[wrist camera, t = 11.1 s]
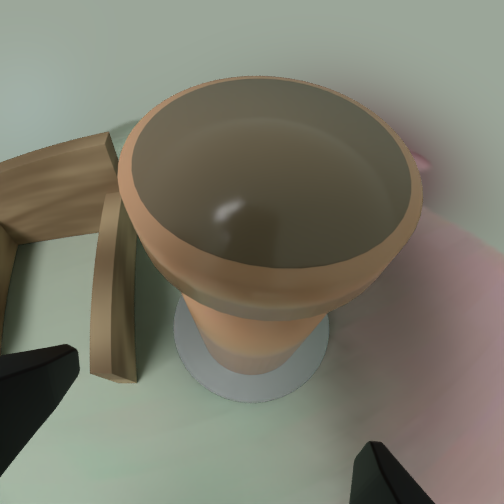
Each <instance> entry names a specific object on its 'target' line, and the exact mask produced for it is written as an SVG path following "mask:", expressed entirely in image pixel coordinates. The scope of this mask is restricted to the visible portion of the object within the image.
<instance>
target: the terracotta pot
mask: <svg viewBox="0 0 504 504" xmlns="http://www.w3.org/2000/svg"><path fill="white" fill-rule="evenodd" d="M117 178H118V185H119V192H120V195H121V197H122V200H123V203H124V206H125V208H126V211H127V213H128V215H129V217H130V219H131V222H132V224H133V226H134V228H135V230H136V232H137V235H138V237H139V239H140V241H141V243H142V245H143V247H144V249H145V251H146V253H147V255H148V256H149V258H150V260H151V261H152V263H153V264H154V266H155V267H156V268H157V270H158V271H159V272H160V273H161V274H162V275H163V276H164V277H165V279H166V280H167V281H169V282H170V283H171V284H172V285H173V286H175V287H176V288H177V289H178V290H179V291H181V293H182V295H183V298H184V300H185V302H186V304H187V307H188V309H189V311H190V313H191V316H192V318H193V320H194V322H195V325H196V327H197V329H198V331H199V333H200V335H201V338H202V340H203V342H204V344H205V346H206V348H207V350H208V352H209V353H210V354H211V356H212V357H213V358H214V359H215V360H216V361H217V362H218V363H219V364H220V365H222V366H223V367H225V368H226V369H228V370H230V371H233V372H235V373H239V374H244V375H259V374H264V373H268V372H270V371H273V370H275V369H277V368H278V367H280V366H281V365H283V364H284V363H285V362H286V361H287V360H288V359H289V358H290V357H291V356H292V355H293V354H294V352H295V351H296V350H297V349H298V348H299V347H300V346H301V344H302V343H303V342H304V341H305V340H306V339H307V337H308V336H309V335H310V334H311V333H312V331H313V330H314V329H315V328H316V327H317V325H318V324H319V323H320V322H321V321H322V319H323V318H324V317H325V316H326V314H327V313H328V312H330V311H332V310H334V309H336V308H339V307H341V306H343V305H345V304H347V303H349V302H350V301H351V300H353V299H354V298H356V297H357V296H359V295H360V294H362V293H363V292H364V291H365V290H366V289H367V288H368V287H369V286H370V285H371V284H372V283H373V282H374V281H375V280H376V279H377V278H378V277H379V275H380V274H381V273H382V272H383V271H384V270H385V268H386V267H387V266H388V265H389V264H390V263H391V261H392V260H393V259H394V258H395V256H396V255H397V254H398V253H399V252H400V250H401V249H402V248H403V247H404V245H405V244H406V243H407V241H408V240H409V238H410V237H411V235H412V234H413V232H414V230H415V229H416V226H417V223H418V221H419V218H420V215H421V210H422V204H423V189H422V183H421V178H420V174H419V171H418V168H417V165H416V163H415V161H414V159H413V157H412V155H411V153H410V151H409V149H408V148H407V147H406V145H405V144H404V143H403V141H402V139H401V138H400V137H399V136H398V135H397V134H396V132H395V131H394V130H393V129H392V128H391V127H390V126H389V125H388V124H387V123H386V122H384V121H383V120H382V119H381V118H380V117H379V116H377V115H376V114H375V113H373V112H372V111H370V110H369V109H368V108H366V107H364V106H363V105H361V104H360V103H358V102H356V101H355V100H353V99H351V98H349V97H347V96H345V95H343V94H340V93H338V92H336V91H334V90H331V89H328V88H325V87H322V86H320V85H316V84H313V83H309V82H305V81H300V80H295V79H290V78H282V77H272V76H242V77H231V78H226V79H219V80H215V81H210V82H207V83H203V84H200V85H197V86H194V87H191V88H188V89H186V90H184V91H181V92H179V93H177V94H175V95H173V96H171V97H170V98H168V99H166V100H164V101H163V102H161V103H160V104H159V105H157V106H156V107H154V108H153V109H152V110H151V111H149V112H148V113H147V114H146V115H145V116H144V117H143V118H142V119H141V120H140V121H139V122H138V123H137V125H136V126H135V127H134V128H133V130H132V131H131V133H130V134H129V136H128V137H127V139H126V142H125V144H124V146H123V148H122V151H121V154H120V158H119V162H118V175H117Z"/></svg>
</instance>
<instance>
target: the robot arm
mask: <svg viewBox="0 0 504 504" xmlns="http://www.w3.org/2000/svg"><path fill="white" fill-rule="evenodd" d="M79 371H80V366H79V356H78V351H77V349H75V348H74V347H72V346H70V345H68V344H63V345H58V346H53V347H47V348H42V349H36V350H30V351H25V352H19V353H12V354H6V355H0V477H1V476H2V474H3V473H4V472H5V470H6V469H7V468H8V466H9V465H10V464H11V463H12V461H13V460H14V459H15V458H16V456H17V455H18V454H19V453H20V451H21V450H22V449H23V448H24V446H25V445H26V444H27V443H28V441H29V440H30V439H31V438H32V436H33V435H34V434H35V433H36V432H37V430H38V429H39V428H40V427H41V426H42V424H43V423H44V422H45V421H46V420H47V418H48V417H49V416H50V415H51V414H52V412H53V411H54V410H55V409H56V407H57V406H58V405H59V403H60V402H61V400H62V399H63V397H64V396H65V394H66V393H67V391H68V390H69V388H70V387H71V385H72V384H73V382H74V381H75V379H76V378H77V376H78V374H79ZM349 504H435V503H434V502H433V501H432V500H431V498H430V497H429V496H428V495H427V494H426V493H425V492H424V491H423V489H422V488H421V487H420V486H419V485H418V484H417V483H416V481H415V480H414V479H413V478H412V477H411V476H410V474H409V473H408V472H407V471H406V470H405V469H404V467H403V466H402V465H401V464H400V463H399V462H398V460H397V459H396V458H395V457H394V456H393V455H392V453H391V452H390V451H389V450H388V449H387V448H386V446H385V445H384V444H383V443H382V442H377V441H369V442H367V443H366V445H365V446H364V447H363V449H362V450H361V451H360V452H359V454H358V455H357V456H356V458H355V460H354V466H353V476H352V485H351V493H350V502H349Z"/></svg>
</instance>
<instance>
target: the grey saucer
mask: <svg viewBox="0 0 504 504" xmlns="http://www.w3.org/2000/svg"><path fill="white" fill-rule="evenodd" d="M173 331H174V340H175V344H176V348H177V351H178V354H179V356H180V358H181V360H182V362H183V364H184V366H185V367H186V369H187V370H188V371H189V373H190V374H191V375H192V376H193V377H194V378H195V379H196V380H197V381H198V382H199V383H200V384H201V385H203V386H204V387H205V388H207V389H208V390H209V391H211V392H213V393H215V394H216V395H218V396H220V397H223V398H226V399H228V400H232V401H237V402H244V403H260V402H266V401H271V400H274V399H277V398H280V397H283V396H285V395H287V394H289V393H291V392H293V391H295V390H296V389H298V388H299V387H300V386H302V385H303V384H304V383H305V382H306V381H307V380H308V379H309V378H310V377H311V376H312V375H313V374H314V372H315V371H316V370H317V368H318V367H319V365H320V363H321V361H322V359H323V357H324V355H325V352H326V348H327V345H328V339H329V321H328V314H326V316H325V317H324V318H323V319H322V321H321V322H320V323H319V324H318V325H317V327H316V328H315V329H314V330H313V331H312V333H311V334H310V335H309V336H308V337H307V339H306V340H305V341H304V342H303V343H302V344H301V346H300V347H299V348H298V349H297V350H296V351H295V352H294V354H293V355H292V356H291V357H290V358H289V359H288V360H287V361H286V362H285V363H284V364H283V365H281V366H280V367H278V368H277V369H275V370H273V371H270V372H268V373H264V374H259V375H244V374H239V373H235V372H233V371H230V370H228V369H226V368H225V367H223V366H222V365H220V364H219V363H218V362H217V361H216V360H215V359H214V358H213V357H212V356H211V354H210V353H209V352H208V350H207V348H206V346H205V344H204V342H203V340H202V338H201V335H200V333H199V331H198V329H197V327H196V325H195V322H194V320H193V318H192V316H191V313H190V311H189V309H188V307H187V304H186V302H185V300H184V298H183V295H181V297H180V299H179V301H178V304H177V307H176V310H175V316H174V326H173Z"/></svg>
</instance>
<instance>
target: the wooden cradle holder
mask: <svg viewBox="0 0 504 504" xmlns="http://www.w3.org/2000/svg"><path fill="white" fill-rule="evenodd" d="M118 162H119V161H118V158H117V155H116V152H115V149H114V146H113V143H112V140H111V137H110V134H109V132H104V133H100V134H95V135H91V136H87V137H82V138H78V139H75V140H70V141H67V142H63V143H59V144H56V145H52V146H49V147H46V148H42V149H39V150H35V151H32V152H29V153H26V154H23V155H20V156H17V157H14V158H12V159H9V160H6V161H3V162H1V163H0V355H1V342H2V331H3V322H4V314H5V307H6V300H7V294H8V289H9V283H10V278H11V273H12V269H13V264H14V260H15V256H16V252H17V248H18V245H21V244H27V243H33V242H39V241H45V240H51V239H57V238H64V237H70V236H77V235H84V234H90V233H97V232H99V236H98V243H97V250H96V258H95V267H94V277H93V288H92V302H91V321H90V374H93V375H96V376H99V377H102V378H105V379H108V380H111V381H114V382H117V383H137V373H136V355H135V321H134V295H135V260H136V242H137V232H136V230H135V228H134V226H133V224H132V222H131V219H130V217H129V215H128V213H127V211H126V208H125V206H124V203H123V200H122V197H121V195H120V192H119V185H118V178H117V175H118Z"/></svg>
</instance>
